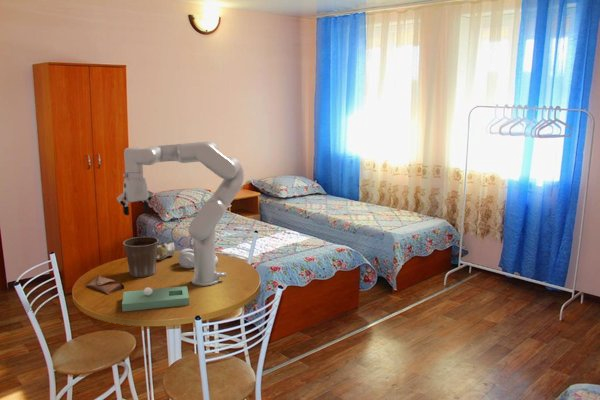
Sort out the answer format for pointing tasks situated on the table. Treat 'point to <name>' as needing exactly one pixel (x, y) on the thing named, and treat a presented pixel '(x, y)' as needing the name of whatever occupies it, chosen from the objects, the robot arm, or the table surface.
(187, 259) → the headphones
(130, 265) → the plant pot
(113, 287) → the sunglasses case
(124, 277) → the table surface
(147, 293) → the ball
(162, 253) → the ceramic sculpture
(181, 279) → the table surface
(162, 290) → the green board
